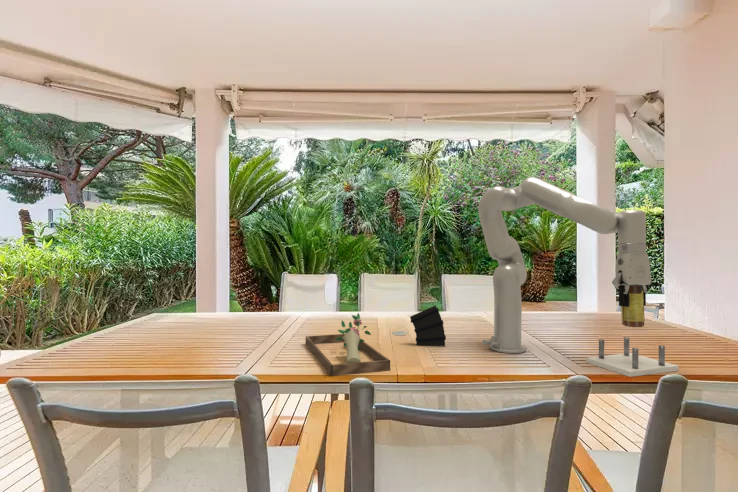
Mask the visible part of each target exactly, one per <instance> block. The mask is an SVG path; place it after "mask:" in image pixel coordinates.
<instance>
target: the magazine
mask: <svg viewBox="0 0 738 492" xmlns="http://www.w3.org/2000/svg"><path fill="white" fill-rule="evenodd" d="M409 318H410V323H411V324H412V325H413V327H414V333H415V336H416V337H415V343H416V346H423V347H424V346H425V347H426V346H427V347H428V346H430V347H445V346H446V340H447V337H446V334H445V328H444V320H443V319H442V316H441V314H440V310H439V307H437V305H436V304H435V305H433V306H431V307H429V308H426V309H424V310H422V311H420V312H417V313H415V314H412V315H411V316H409Z"/></svg>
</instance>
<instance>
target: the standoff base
mask: <svg viewBox="0 0 738 492" xmlns="http://www.w3.org/2000/svg"><path fill="white" fill-rule="evenodd" d="M631 349H632V350H631V352H630V337H628V336H624V337H623V353H618V354H611V355H610V354H609V355H605V339H601V338H600V339H598V355H597V356H589V357H585V363H587V364H590V365H593V366H596V367H599V368H602V369H605V370H609V371H611V372H613V373H616V374H620V375H623V376H626V377H629V378H631V377H639V376H648V375H655V374H663V373H672V372H679V365H677V364H673V363H669V362H666V346H665V345H658V359H655V358H651V357H647V356H644V355H639V348H638V347H632V348H631Z"/></svg>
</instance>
